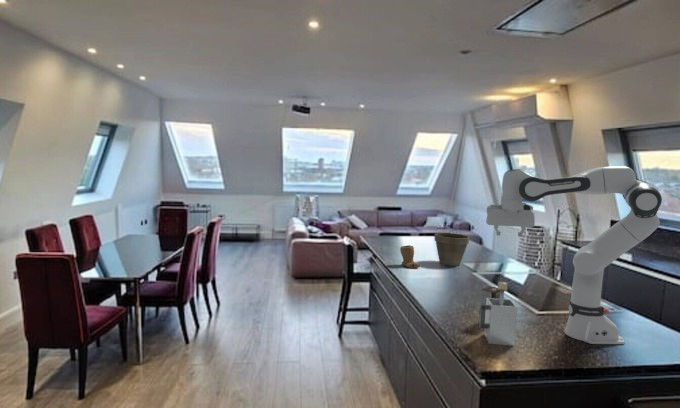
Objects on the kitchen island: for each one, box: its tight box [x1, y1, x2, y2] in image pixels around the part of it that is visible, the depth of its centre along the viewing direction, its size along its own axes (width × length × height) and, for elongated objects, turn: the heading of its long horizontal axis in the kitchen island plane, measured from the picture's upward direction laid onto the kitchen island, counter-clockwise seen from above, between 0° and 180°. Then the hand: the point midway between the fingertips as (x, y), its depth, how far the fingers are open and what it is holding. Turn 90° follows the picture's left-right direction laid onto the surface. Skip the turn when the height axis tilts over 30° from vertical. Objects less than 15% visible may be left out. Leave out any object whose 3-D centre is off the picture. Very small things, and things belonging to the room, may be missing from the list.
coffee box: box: [478, 285, 500, 325], centre depth 200 cm, size 9×6×16 cm
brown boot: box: [399, 244, 421, 269], centre depth 309 cm, size 15×12×15 cm
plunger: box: [497, 281, 508, 306], centre depth 180 cm, size 8×8×22 cm
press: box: [478, 298, 518, 347], centre depth 180 cm, size 13×10×16 cm
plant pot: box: [434, 232, 470, 267], centre depth 322 cm, size 25×25×22 cm
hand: (509, 236), depth 195 cm, fingers open, 8 cm apart
